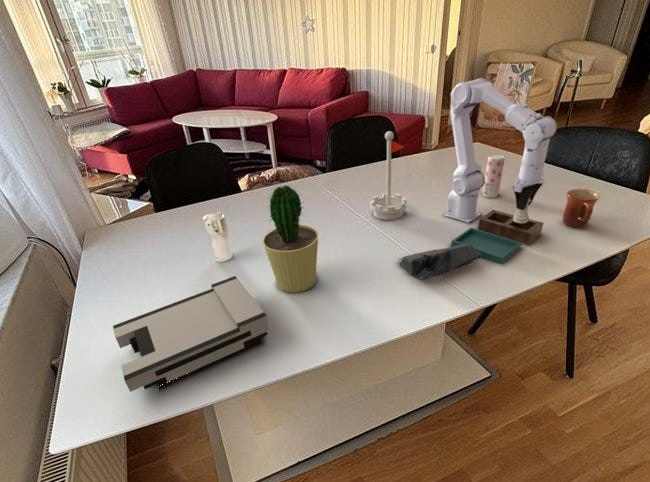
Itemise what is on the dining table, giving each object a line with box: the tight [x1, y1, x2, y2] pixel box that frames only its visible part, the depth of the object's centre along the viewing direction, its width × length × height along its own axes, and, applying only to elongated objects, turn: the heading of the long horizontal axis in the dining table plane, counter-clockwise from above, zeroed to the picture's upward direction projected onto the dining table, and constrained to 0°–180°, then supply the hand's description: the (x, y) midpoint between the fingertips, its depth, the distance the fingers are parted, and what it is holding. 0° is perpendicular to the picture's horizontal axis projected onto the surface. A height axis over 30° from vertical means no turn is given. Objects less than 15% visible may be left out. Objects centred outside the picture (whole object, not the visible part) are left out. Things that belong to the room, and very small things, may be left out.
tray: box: [450, 227, 522, 265], centre depth 121 cm, size 16×11×2 cm
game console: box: [112, 275, 271, 393], centre depth 95 cm, size 21×32×8 cm, turn 120°
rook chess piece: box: [513, 198, 531, 224], centre depth 120 cm, size 4×4×8 cm
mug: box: [562, 188, 601, 229], centre depth 124 cm, size 12×9×10 cm
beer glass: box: [202, 211, 234, 263], centre depth 128 cm, size 7×7×15 cm
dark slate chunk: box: [399, 245, 483, 280], centre depth 114 cm, size 15×22×5 cm
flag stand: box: [370, 130, 408, 221], centre depth 140 cm, size 13×13×30 cm
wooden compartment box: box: [477, 209, 544, 246], centre depth 127 cm, size 16×9×4 cm, turn 42°
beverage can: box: [482, 154, 505, 199], centre depth 149 cm, size 6×6×15 cm
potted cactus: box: [262, 184, 319, 293], centre depth 108 cm, size 15×15×30 cm
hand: (523, 206), depth 120 cm, fingers closed on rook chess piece, 3 cm apart
